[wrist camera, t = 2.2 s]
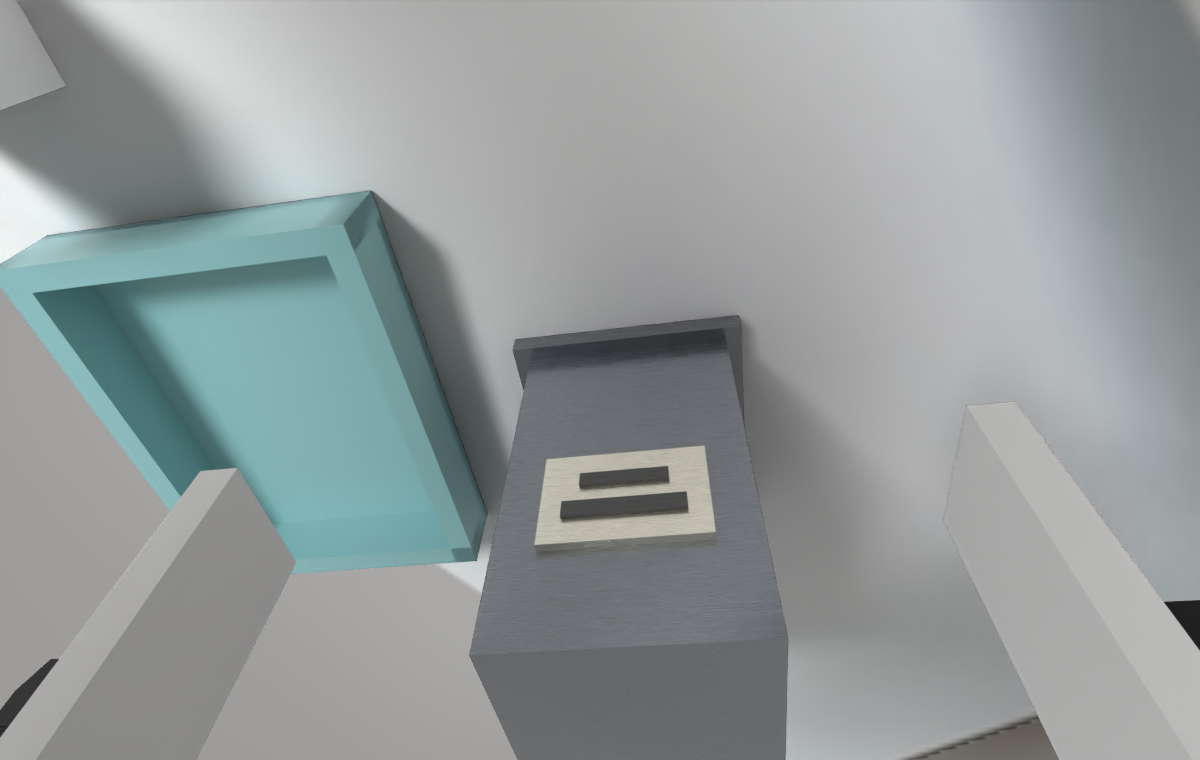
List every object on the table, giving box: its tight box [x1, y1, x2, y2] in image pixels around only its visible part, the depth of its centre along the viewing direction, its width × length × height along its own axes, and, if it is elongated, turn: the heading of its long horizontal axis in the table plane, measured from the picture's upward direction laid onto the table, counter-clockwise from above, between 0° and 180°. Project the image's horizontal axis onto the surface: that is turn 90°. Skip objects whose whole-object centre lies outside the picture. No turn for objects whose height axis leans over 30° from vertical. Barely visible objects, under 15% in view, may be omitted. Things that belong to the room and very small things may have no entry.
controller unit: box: [469, 316, 788, 760], centre depth 25 cm, size 11×9×14 cm
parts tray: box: [0, 191, 487, 574], centre depth 29 cm, size 17×13×3 cm
